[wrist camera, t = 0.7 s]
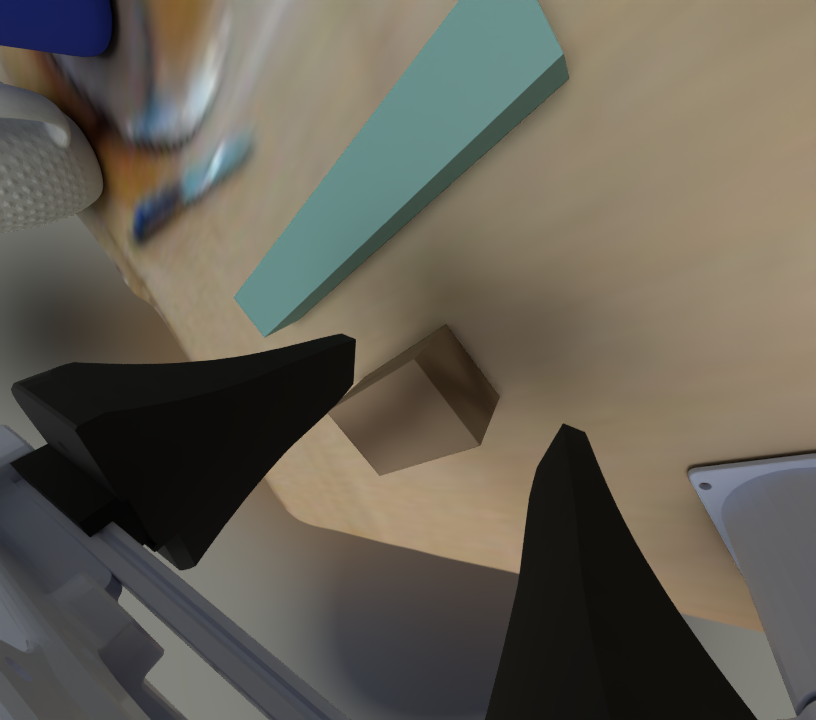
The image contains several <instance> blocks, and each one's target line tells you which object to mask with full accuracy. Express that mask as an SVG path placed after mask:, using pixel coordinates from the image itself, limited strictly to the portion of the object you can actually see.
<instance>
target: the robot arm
mask: <svg viewBox="0 0 816 720" xmlns="http://www.w3.org/2000/svg"><path fill="white" fill-rule="evenodd" d="M355 347H356V339H354V338H351V337H349V336H346V335H344V334H337V335H332V336H328V337H323V338H319V339H315V340H311V341H307V342H303V343H299V344H295V345H291V346H287V347H283V348H279V349H274V350H269V351H265V352H260V353H255V354H250V355H245V356H239V357H232V358H225V359H217V360H208V361H196V362H185V363H167V364H103V363H102V364H101V363H77V362H73V363H69V364H65V365H62V366H59V367H56V368H53V369H51V370H48V371H45V372H43V373H40V374H37V375H34V376H32V377H29V378H26V379H24V380H21V381H18V382H16V383H14V384H13V386H12V388H11V391H12V393H13V396H14V397H15V399H16V401H17V402H18V404H19V405H20V406H21V408H22V409H23V411H24V412H25V414H26V415H27V416H28V418H29V419H30V420H31V422H32V423H33V424H34V426H35V427H36V428H37V430H38V431H39V432H40V434H41V435H42V436H43V438H44V439H45V440H46V442H47V443H48V444H46V445H45V446H43V447H41V448H39V449H37V450H35V449H34V448H33V447H32V446H31V445H30V444H29V443H28V442H27V441H26V440H24V439H23V438H22V437H21V436H20V435H18V434H17V433H16V432H15V431H13V430H12V429H11V428H10V427H8V426H7V425H0V720H187V718H186V717H185V716H183V714H182V713H180V712H179V711H178V710H177V709H176V708H175V707H174V706H173V705H172V704H171V703H170V702H169V701H168V700H167V699H166V698H165V697H164V696H163V695H162V694H161V693H160V692H159V691H158V690H157V689H156V688H155V687H154V686H153V685H152V684H151V683H150V682H149V681H148V680H147V679H146V678H145V676H146V674H147V673H148V672H149V671H150V669H151V668H152V667H153V666H154V665H155V664H156V663H157V662H158V661H159V659H160V658H161V657H162V656H163V654H164V649H163V648H162V647H161V646H160V645H159V644H158V643H157V642H156V641H155V640H154V639H153V638H152V637H151V636H150V635H149V634H148V633H147V632H146V631H145V630H144V629H143V628H142V627H141V626H140V625H139V624H138V623H137V622H136V620H135V619H134V618H133V617H132V616H131V615H130V614H129V613H128V612H127V611H125V609H123V607H122V606H120V605H119V604H118V598H119V596H120V594H121V592H122V585H123V586H124V587H125V588H126V589H127V590H128V591H129V592H130V593H131V594H132V595H134V596H135V597H136V598H137V599H138V600H139V601H140V602H141V603H142V604H143V605H144V606H145V607H147V608H148V609H149V610H150V611H151V612H152V613H153V614H155V616H156V617H157V618H159V619H160V620H161V621H162V622H163V623H164V624H165V625H166V626H167V627H168V628H170V629H171V630H172V631H173V632H174V633H175V634H176V635H177V636H178V637H179V638H180V639H182V640H183V641H184V642H185V643H186V644H187V645H188V646H189V647H190V648H191V649H192V650H194V651H195V652H196V653H197V654H198V655H199V656H200V657H201V658H202V659H203V660H204V661H205V662H207V663H208V664H209V665H210V666H211V667H212V668H213V669H214V670H215V671H216V672H217V673H219V674H220V675H221V676H222V677H223V678H224V679H225V680H226V681H227V682H228V683H229V684H231V685H232V686H233V687H234V688H235V689H236V690H237V691H238V692H239V693H241V694H242V695H243V696H244V697H245V698H246V699H247V700H248V701H249V702H250V703H251V704H252V705H254V706H255V707H256V708H257V709H258V710H259V711H260V712H261V713H262V714H263V715H264V716H265V717H267V718H268V719H269V720H351V719H350V718H348V717H347V716H346V715H345V714H344V713H342V712H341V711H340V710H339V709H338V708H336V707H335V706H334V705H333V704H332V703H330V702H329V701H328V700H327V699H326V698H324V697H323V696H322V695H321V694H319V693H318V692H317V691H316V690H315V689H314V688H312V687H311V686H310V685H309V684H307V683H306V682H305V681H304V680H303V679H301V678H300V677H299V676H298V675H296V674H295V673H294V672H293V671H292V670H291V669H290V668H288V667H287V666H286V665H285V664H284V663H282V662H281V661H280V660H279V659H277V658H276V657H275V656H274V655H273V654H272V653H270V652H269V651H268V650H267V649H265V648H264V647H263V646H262V645H261V644H260V643H258V642H257V641H256V640H255V639H254V638H252V637H251V636H250V635H249V634H248V633H246V632H245V631H244V630H243V629H242V628H240V627H239V626H238V625H237V624H236V623H234V622H233V621H232V620H231V619H230V618H228V617H227V616H226V615H225V614H223V613H222V612H221V611H220V610H219V609H217V608H216V607H215V606H214V605H212V604H211V603H210V602H209V601H208V600H207V599H205V598H204V597H203V596H202V595H201V594H199V593H198V592H197V591H196V590H195V589H193V588H192V587H191V586H190V585H189V584H187V583H186V582H185V581H184V580H183V579H181V578H180V577H179V576H178V575H177V574H175V573H174V572H173V571H172V570H171V569H169V568H168V567H167V566H166V565H165V564H163V563H162V562H161V561H160V560H159V559H157V558H156V557H155V556H154V555H153V554H151V553H150V552H149V551H148V550H147V549H145V548H144V547H143V545H144V544H145V545H146V546H148V547H149V548H150V549H151V550H152V551H154V552H156V551H157V552H158V553H159V554H161V555H162V556H163V557H164V558H165V559H167V560H168V561H169V562H170V563H172V564H173V565H174V566H175V567H176V568H178V569H179V570H186V569H190V568H192V567H194V566H196V565H197V563H198V562H199V561H200V559H201V558H202V556H203V555H204V553H205V552H206V551H207V549H208V548H209V546H210V545H211V544H212V542H213V541H214V540H215V538H216V537H217V535H218V534H219V533H220V531H221V530H222V529H223V527H224V526H225V524H226V523H227V522H228V521H229V519H230V518H231V517H232V516H233V514H234V513H235V512H236V510H237V509H238V508H239V507H240V505H241V504H242V503H243V501H244V500H245V499H246V498H247V496H248V495H249V494H250V493H251V492H252V490H253V489H254V488H255V487H256V486H257V484H258V483H259V482H260V481H261V480H262V478H263V477H264V476H265V475H266V474H267V473H268V471H269V470H270V469H271V468H272V467H273V466H274V465H275V463H276V462H277V461H278V460H279V459H280V458H281V457H282V456H283V454H284V453H285V452H286V451H287V450H288V449H289V448H290V447H291V446H292V445H293V444H294V443H295V442H297V441H298V440H299V439H300V438H301V437H302V436H303V435H304V434H305V433H306V432H307V431H309V430H310V429H311V428H312V427H313V426H314V425H315V424H316V423H317V422H318V421H319V420H320V419H322V418H323V417H324V416H325V415H326V414H327V413H328V412H329V411H330V410H331V409H332V408H333V407H334V406H335V405H336V404H337V403H338V402H339V401H340V400H341V399H342V397H343V396H344V395H345V394H346V393H347V391H348V390H349V389H350V387H351V386H352V385H353V382H354V364H355ZM688 476H689V479H690V481H691V483H692V485H693V487H694V489H695V490H696V492H697V494H698V496H699V498H700V499H701V501H702V503H703V505H704V507H705V508H706V510H707V512H708V514H709V516H710V517H711V519H712V521H713V523H714V525H715V527H716V528H717V530H718V532H719V534H720V536H721V537H722V539H723V541H724V543H725V545H726V546H727V548H728V550H729V552H730V554H731V555H732V557H733V559H734V561H735V563H736V564H737V566H738V568H739V570H740V572H741V573H742V575H743V577H744V579H745V581H746V584H747V587H748V589H749V592H750V594H751V597H752V600H753V602H754V605H755V608H756V610H757V613H758V615H759V618H760V621H761V623H762V626H763V629H764V631H765V634H766V636H767V639H768V641H769V644H770V647H771V649H772V652H773V655H774V657H775V660H776V663H777V665H778V668H779V671H780V673H781V676H782V679H783V681H784V684H785V686H786V689H787V692H788V694H789V697H790V700H791V702H792V705H793V707H794V710H795V713H796V715H797V717H795V718H791V719H778V720H816V453H813V454H805V455H797V456H788V457H780V458H772V459H764V460H755V461H747V462H739V463H731V464H722V465H714V466H706V467H698V468H693V469H691V470H689V472H688ZM700 483H708V484H700ZM485 720H757V718H756V717H755V716H754V714H753V713H752V712H751V710H750V709H749V708H748V707H747V705H746V704H745V703H744V702H743V700H742V699H741V697H740V696H739V695H738V694H737V692H736V691H735V690H734V688H733V687H732V686H731V684H730V683H729V682H728V680H727V679H726V678H725V676H724V675H723V674H722V672H721V671H720V670H719V668H718V667H717V666H716V664H715V663H714V661H713V660H712V659H711V657H710V656H709V655H708V653H707V652H706V650H705V649H704V648H703V646H702V645H701V643H700V642H699V640H698V639H697V637H696V636H695V635H694V633H693V632H692V630H691V629H690V627H689V626H688V624H687V623H686V622H685V620H684V619H683V617H682V616H681V614H680V613H679V611H678V610H677V608H676V607H675V605H674V604H673V602H672V601H671V599H670V598H669V596H668V595H667V593H666V592H665V590H664V589H663V587H662V585H661V584H660V582H659V580H658V579H657V577H656V576H655V574H654V572H653V571H652V569H651V567H650V566H649V564H648V563H647V561H646V559H645V558H644V556H643V554H642V552H641V551H640V549H639V547H638V545H637V544H636V542H635V540H634V538H633V536H632V535H631V533H630V531H629V529H628V527H627V525H626V523H625V521H624V519H623V517H622V515H621V513H620V511H619V509H618V507H617V505H616V503H615V501H614V499H613V497H612V494H611V492H610V490H609V488H608V486H607V483H606V481H605V479H604V477H603V474H602V472H601V470H600V467H599V465H598V462H597V460H596V457H595V455H594V452H593V450H592V447H591V445H590V442H589V440H588V437H587V435H586V433H585V432H583V431H581V430H578V429H576V428H573V427H571V426H568V425H566V424H562V426H561V428H560V429H559V431H558V433H557V434H556V436H555V438H554V440H553V441H552V443H551V445H550V446H549V448H548V450H547V451H546V453H545V455H544V456H543V458H542V460H541V461H540V463H539V465H538V467H537V469H536V473H535V477H534V480H533V484H532V488H531V492H530V496H529V503H528V510H527V518H526V526H525V534H524V542H523V550H522V559H521V567H520V574H519V580H518V586H517V591H516V595H515V600H514V604H513V608H512V613H511V617H510V622H509V626H508V630H507V634H506V638H505V643H504V647H503V652H502V655H501V659H500V663H499V667H498V671H497V675H496V679H495V683H494V687H493V690H492V695H491V699H490V702H489V706H488V710H487V714H486V718H485Z"/></svg>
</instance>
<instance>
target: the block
mask: <svg viewBox="0 0 816 720" xmlns="http://www.w3.org/2000/svg"><path fill="white" fill-rule="evenodd" d="M498 400H499V396H498V394H497V393H496V391H495V390H494V389H493V387H492V386H491V385H490V383H489V382H488V381H487V379H486V378H485V377H484V375H483V374H482V372H481V371H480V370H479V368H478V367H477V366H476V364H475V363H474V362H473V360H472V359H471V357H470V356H469V355H468V353H467V352H466V351H465V349H464V348H463V347H462V345H461V344H460V343H459V341H458V340H457V338H456V337H455V336H454V334H453V333H452V332H451V330H450V329H449V328H448V326H447V325H444V326H443V327H441V328H440V329H438V330H437V331H435V332H434V333H432V334H431V335H429V336H428V337H426V338H424V339H423V340H421V341H420V342H418V343H417V344H415V345H414V346H412V347H411V348H409V349H407V350H406V351H404V352H403V353H401V354H400V355H398V356H397V357H395V358H394V359H392V360H391V361H389V362H387V363H386V364H384V365H383V366H381V367H380V368H378V369H377V370H375V371H374V372H372V373H370V374H369V375H367V376H366V377H364V378H363V379H362V380H361V381H360V382H359V383H358V384H357V385H356V386H355V387H353V388H352V389H351V390H350V391H349V392H348V393H347V394H346V395H345V396H344V397H343V398H342V399H341V400H340V401H339V402H338V403H337V404H336V405H335V406H334V407H333V408H332V409H331V410H330V411H329V412H328V414H329V415H330V417H331V418H332V419H333V420H334V422H335V423H336V424H337V425H338V426H339V428H340V429H341V430H342V431H343V432H344V434H345V435H346V436H347V437H348V438H349V440H350V441H351V442H352V443H353V444H354V446H355V447H356V448H357V449H358V450H359V452H360V453H361V454H362V455H363V457H364V458H365V459H366V460H367V461H368V463H369V464H370V465H371V466H372V467H373V469H374V470H375V471H376V472H377V473H378V475H379V476H381V475H384V474H388V473H391V472H394V471H398V470H401V469H404V468H408V467H411V466H414V465H418V464H421V463H424V462H428V461H431V460H434V459H438V458H441V457H445V456H448V455H451V454H455V453H458V452H461V451H465V450H468V449H471V448H475V447H478V446H480V445H481V443H482V440H483V438H484V435H485V433H486V430H487V428H488V425H489V423H490V420H491V417H492V415H493V412H494V410H495V407H496V405H497V402H498Z"/></svg>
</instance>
